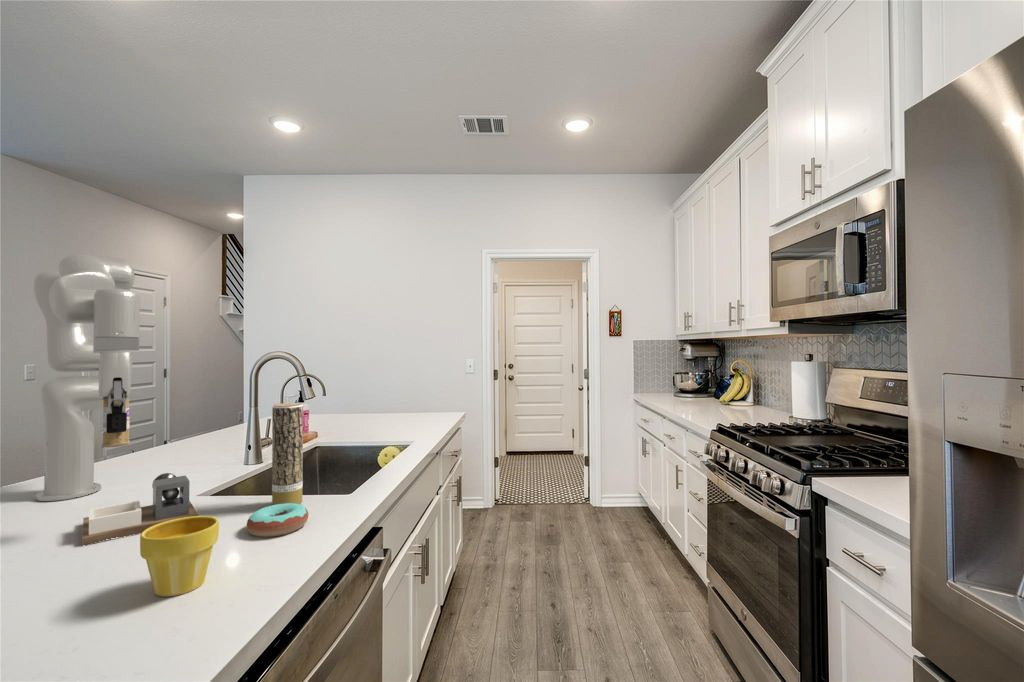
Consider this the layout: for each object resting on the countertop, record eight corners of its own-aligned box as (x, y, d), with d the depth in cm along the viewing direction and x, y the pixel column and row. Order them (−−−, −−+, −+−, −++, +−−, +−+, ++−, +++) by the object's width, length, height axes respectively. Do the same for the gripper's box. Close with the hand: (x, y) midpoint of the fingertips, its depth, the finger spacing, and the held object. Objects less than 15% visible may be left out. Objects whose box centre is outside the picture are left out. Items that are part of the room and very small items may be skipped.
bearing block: (152, 513, 102) (153, 480, 102) (185, 507, 106) (185, 475, 106) (155, 521, 98) (155, 486, 98) (189, 513, 102) (189, 480, 102)
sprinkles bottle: (128, 445, 96) (128, 383, 97) (99, 448, 94) (100, 384, 94) (131, 442, 100) (131, 381, 100) (104, 444, 98) (104, 382, 98)
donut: (318, 527, 98) (318, 508, 98) (259, 545, 89) (259, 525, 89) (294, 514, 106) (294, 497, 106) (238, 530, 97) (238, 511, 97)
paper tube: (308, 501, 114) (308, 403, 114) (287, 511, 108) (287, 406, 108) (287, 499, 116) (288, 402, 117) (265, 507, 110) (266, 405, 110)
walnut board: (83, 524, 100) (83, 517, 100) (187, 504, 113) (187, 498, 113) (82, 546, 89) (82, 538, 89) (198, 520, 102) (198, 514, 102)
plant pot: (188, 566, 80) (189, 511, 80) (232, 575, 77) (233, 518, 77) (123, 597, 70) (124, 534, 71) (170, 609, 67) (171, 543, 67)
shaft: (152, 496, 108) (152, 475, 108) (177, 491, 112) (178, 471, 112) (157, 507, 100) (157, 485, 100) (184, 502, 104) (184, 480, 104)
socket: (88, 523, 96) (89, 509, 97) (138, 513, 102) (138, 500, 102) (88, 535, 90) (88, 520, 91) (141, 524, 96) (141, 510, 96)
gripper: (92, 346, 101) (92, 428, 100) (93, 345, 89) (92, 438, 88) (136, 346, 106) (135, 424, 106) (142, 345, 94) (141, 433, 93)
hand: (116, 429), depth 97 cm, fingers closed on sprinkles bottle, 4 cm apart
